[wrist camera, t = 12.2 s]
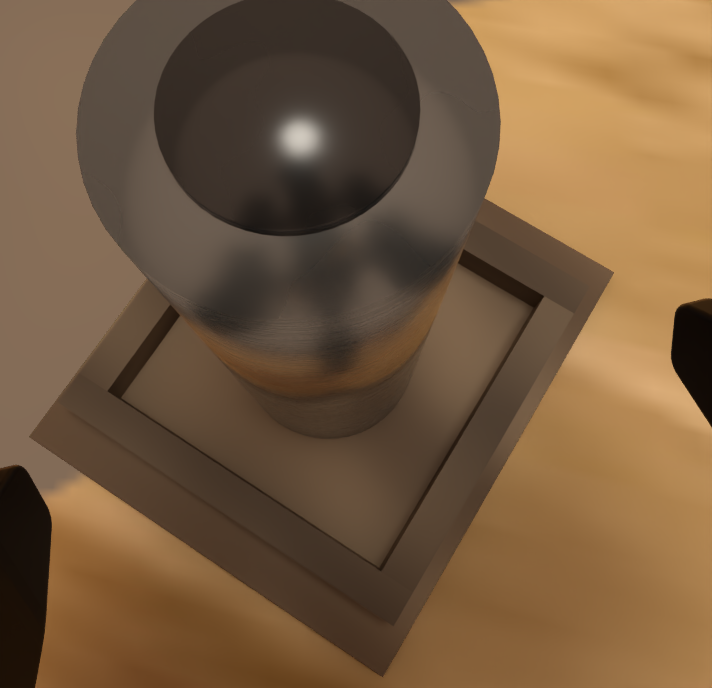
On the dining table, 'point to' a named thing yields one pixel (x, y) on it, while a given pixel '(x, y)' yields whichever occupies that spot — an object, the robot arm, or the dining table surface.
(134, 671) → the dining table surface
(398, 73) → the grey cylindrical can
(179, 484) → the grey square tray
